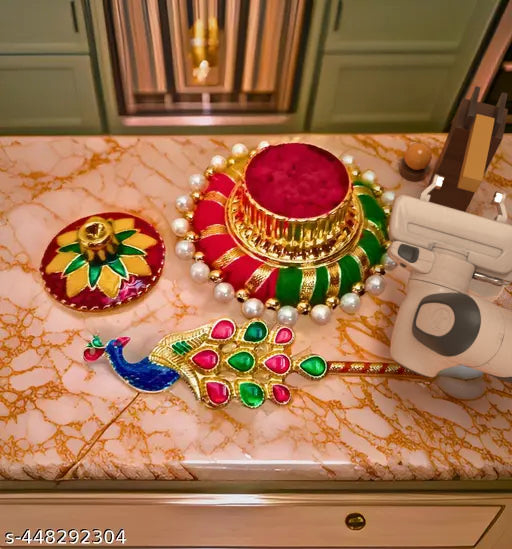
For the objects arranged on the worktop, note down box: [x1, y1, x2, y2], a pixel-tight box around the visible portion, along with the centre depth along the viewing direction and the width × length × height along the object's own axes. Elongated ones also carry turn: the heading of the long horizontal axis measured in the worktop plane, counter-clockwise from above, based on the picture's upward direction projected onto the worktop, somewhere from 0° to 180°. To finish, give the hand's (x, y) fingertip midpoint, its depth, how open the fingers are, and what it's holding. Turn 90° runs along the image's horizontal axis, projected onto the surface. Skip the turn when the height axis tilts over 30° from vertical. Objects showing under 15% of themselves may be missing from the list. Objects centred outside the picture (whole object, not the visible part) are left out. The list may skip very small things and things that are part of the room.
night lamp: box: [398, 142, 433, 182], centre depth 123 cm, size 6×6×7 cm
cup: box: [467, 277, 506, 303], centre depth 103 cm, size 7×10×8 cm
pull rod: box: [458, 114, 495, 194], centre depth 93 cm, size 15×3×3 cm, turn 160°
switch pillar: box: [426, 85, 509, 212], centre depth 109 cm, size 8×8×27 cm
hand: (469, 184), depth 89 cm, fingers open, 8 cm apart
